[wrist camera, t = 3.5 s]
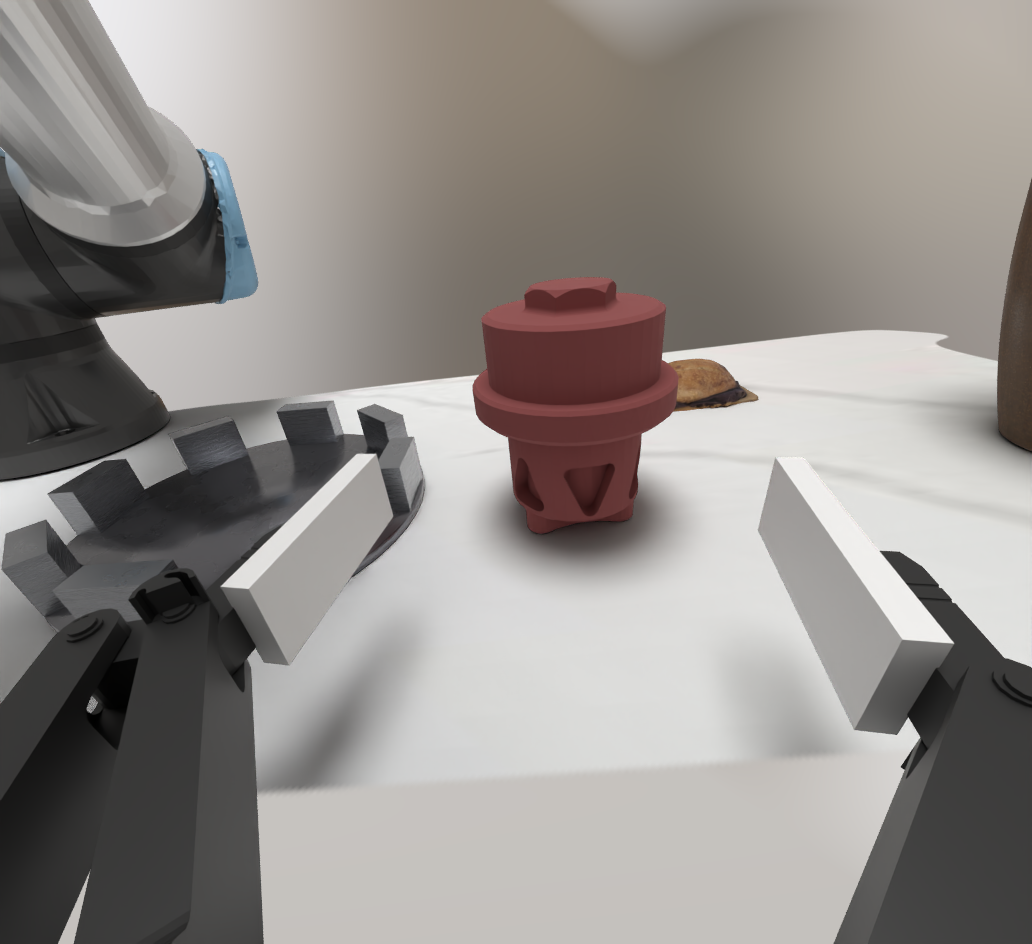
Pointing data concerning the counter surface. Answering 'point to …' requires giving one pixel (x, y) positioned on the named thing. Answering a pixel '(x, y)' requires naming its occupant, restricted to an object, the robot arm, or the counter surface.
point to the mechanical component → (575, 396)
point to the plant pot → (1017, 340)
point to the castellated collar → (201, 508)
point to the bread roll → (707, 386)
